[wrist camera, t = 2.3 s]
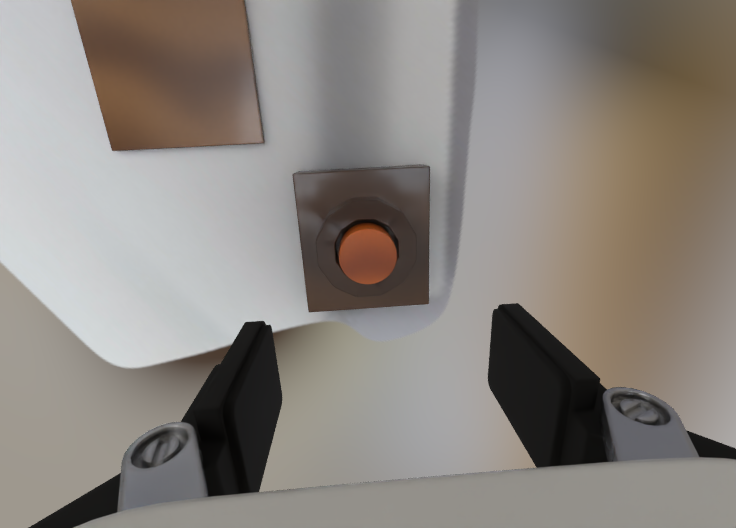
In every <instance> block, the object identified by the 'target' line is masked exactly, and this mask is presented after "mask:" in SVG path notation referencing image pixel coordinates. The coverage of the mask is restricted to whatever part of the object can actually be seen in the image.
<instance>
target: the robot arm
mask: <svg viewBox="0 0 736 528" xmlns="http://www.w3.org/2000/svg"><path fill="white" fill-rule="evenodd" d="M488 383H489V386H490V389H491V391H492V392H493V394H494V396H495V398H496V399H497V401H498V403H499V404H500V406H501V408H502V409H503V411H504V413H505V414H506V416H507V418H508V420H509V421H510V423H511V425H512V426H513V428H514V430H515V432H516V433H517V435H518V437H519V438H520V440H521V442H522V443H523V445H524V447H525V449H526V450H527V451H528V454H529V455H530V457H531V458H532V460H533V462H534V464H535V466H536V467H537V468H527V469H515V470H502V471H490V472H479V473H467V474H455V475H443V476H431V477H420V478H408V479H398V480H386V481H374V482H363V483H352V484H342V485H330V486H320V487H309V488H298V489H289V490H288V489H287V490H277V491H266V492H259V489H260V486H261V482H262V478H263V474H264V470H265V466H266V463H267V458H268V455H269V451H270V447H271V443H272V440H273V436H274V432H275V428H276V424H277V420H278V417H279V413H280V409H281V405H282V391H281V385H280V378H279V372H278V365H277V359H276V353H275V346H274V340H273V333H272V328H271V326H270V325H266V324H265V322H264V321H256V322H245V324H244V325H243V327H242V329H241V330H240V332H239V334H238V335H237V337H236V339H235V340H234V342H233V344H232V346H231V348H230V349H229V351H228V352H227V354H226V356H225V358H224V359H223V361H222V362H221V364H218V365H216V366H215V367H214V368H213V370H212V372H211V373H210V375H209V377H208V378H207V380H206V382H205V383H204V385H203V386H202V388H201V390H200V391H199V393H198V395H197V396H196V398H195V399H194V401H193V403H192V404H191V406H190V408H189V409H188V411H187V413H186V414H185V416H184V417H183V419H182V421H181V422H172V423H167V424H164V425H161V426H158V427H156V428H154V429H152V430H149V431H148V432H146V433H145V434H143V435H142V436H140V437H139V438H138V439H137V440H136V441H134V443H132V444H131V445H130V447H129V448H128V449H127V451H126V452H125V454H124V457H123V460H122V466H121V473H120V474H118V475H117V476H115V477H113V478H112V479H110V480H108V481H107V482H105V483H103V484H102V485H100V486H98V487H96V488H95V489H93V490H91V491H90V492H88V493H87V494H85V495H83V496H81V497H80V498H78V499H76V500H74V501H73V502H71V503H69V504H68V505H66V506H64V507H63V508H61V509H59V510H58V511H56V512H54V513H53V514H51V515H49V516H47V517H46V518H44V519H42V520H41V521H39V522H38V523H36V524H34V525H32V526H31V527H29V528H736V449H735V448H733V447H729V446H727V445H724V444H722V443H719V442H716V441H714V440H711V439H708V438H705V437H702V436H699V435H697V434H694V433H692V432H689V431H686V429H685V428H684V425H683V424H682V421H681V420H680V418H679V416H678V414H677V413H676V412H675V410H674V409H673V408H672V407H670V406H669V405H668V404H667V403H666V402H664V401H662V400H661V399H659V398H657V397H656V396H654V395H651V394H648V393H646V392H644V391H640V390H637V389H633V388H626V387H616V388H611V389H608V390H607V389H606V388H604V387H603V386H602V385H601V384H600V378H599V377H598V376H597V375H596V374H595V373H594V372H592V371H591V370H590V369H589V368H588V367H587V366H586V365H585V364H584V363H583V362H582V361H580V360H579V359H578V358H577V357H576V356H575V355H574V354H573V353H572V352H571V351H570V350H568V349H567V348H566V347H565V346H564V345H563V344H562V343H561V342H560V341H559V340H557V339H556V338H555V337H554V336H553V335H552V334H551V333H550V332H549V331H548V330H547V329H546V328H544V327H543V326H542V325H541V324H540V323H539V322H538V321H537V320H536V319H535V318H534V317H532V316H531V315H530V314H529V313H528V312H527V311H526V310H525V309H524V308H522V306H520V305H519V304H518V303H516V304H502V305H499V306H498V309H494V311H493V315H492V329H491V342H490V357H489V369H488Z"/></svg>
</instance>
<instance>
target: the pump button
mask: <svg viewBox="0 0 736 528" xmlns="http://www.w3.org/2000/svg"><path fill="white" fill-rule="evenodd" d="M396 262H397V250H396V247H395V244H394V242H393V240H392V238H391V236H390V235H389V233H388V232H387V231H386V230H385V229H384V228H382V227H381V226H379V225H376V224H373V223H361V224H358V225H355V226H353V227H351V228H350V229H349V230H348V231H347V232H346V233H345V234H344V236H343V237H342V239H341V242H340V247H339V263H340V266H341V269H342V270H343V272H344V273H345V275H346V276H347V277H348V278H350V279H351V280H353V281H355V282H357V283H361V284H374V283H378V282H380V281H382V280H384V279H385V278H387V277H388V276H389V275H390V274H391V272H392V271H393V269H394V267H395V265H396Z"/></svg>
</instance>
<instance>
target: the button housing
mask: <svg viewBox="0 0 736 528" xmlns="http://www.w3.org/2000/svg"><path fill="white" fill-rule="evenodd" d="M293 182H294V191H295V199H296V208H297V216H298V225H299V233H300V242H301V250H302V259H303V268H304V276H305V285H306V293H307V302H308V310H309V312H320V311H334V310H349V309H363V308H378V307H392V306H407V305H421V304H429V206H430V167H429V166H426V165H408V166H389V167H371V168H353V169H335V170H317V171H298V172H296V173H294V174H293ZM361 223H373V224H376V225H379V226H381V227H382V228H384V229H385V230H386V231H387V232H388V233H389V235H390V236H391V238H392V240H393V242H394V244H395V247H396V250H397V262H396V265H395V267H394V269H393V271H392V272H391V274H390V275H389V276H388V277H387V278H385V279H384V280H382V281H380V282H378V283H374V284H361V283H357V282H355V281H353V280H351V279H350V278H348V277H347V276H346V275H345V273H344V272H343V270H342V269H341V266H340V263H339V247H340V242H341V239H342V237H343V236H344V234H345V233H346V232H347V231H348V230H349V229H350V228H351V227H353V226H355V225H358V224H361Z"/></svg>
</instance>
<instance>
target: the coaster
mask: <svg viewBox="0 0 736 528" xmlns="http://www.w3.org/2000/svg"><path fill="white" fill-rule="evenodd" d="M71 3H72V6H73V10H74V14H75V17H76V21H77V24H78V28H79V32H80V35H81V39H82V43H83V46H84V50H85V54H86V57H87V61H88V64H89V68H90V72H91V75H92V79H93V83H94V86H95V90H96V94H97V97H98V101H99V105H100V108H101V112H102V115H103V119H104V123H105V126H106V130H107V134H108V137H109V141H110V145H111V148H112V151H121V150H140V149H160V148H179V147H198V146H218V145H237V144H256V143H264V137H263V130H262V123H261V115H260V108H259V101H258V94H257V86H256V79H255V72H254V65H253V58H252V50H251V43H250V36H249V29H248V21H247V14H246V7H245V0H71Z"/></svg>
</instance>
